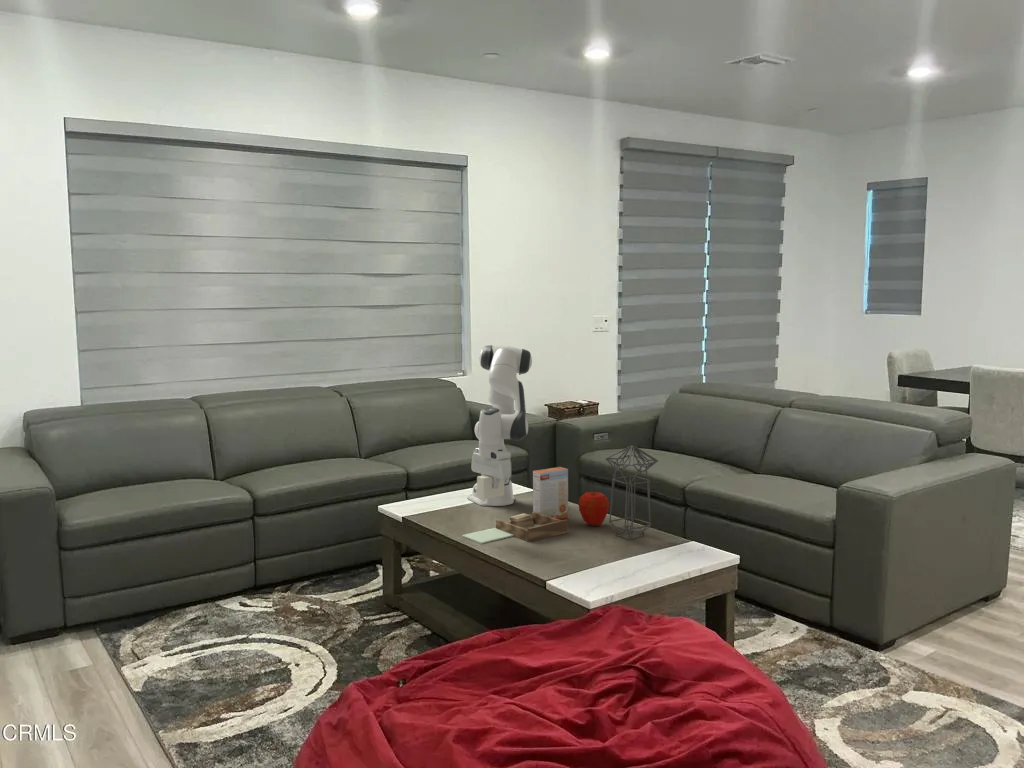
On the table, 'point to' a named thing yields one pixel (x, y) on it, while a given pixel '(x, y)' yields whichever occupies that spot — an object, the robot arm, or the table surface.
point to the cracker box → (551, 492)
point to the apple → (593, 507)
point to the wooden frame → (535, 528)
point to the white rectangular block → (488, 487)
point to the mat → (487, 535)
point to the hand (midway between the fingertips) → (490, 486)
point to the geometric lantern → (637, 450)
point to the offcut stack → (522, 520)
